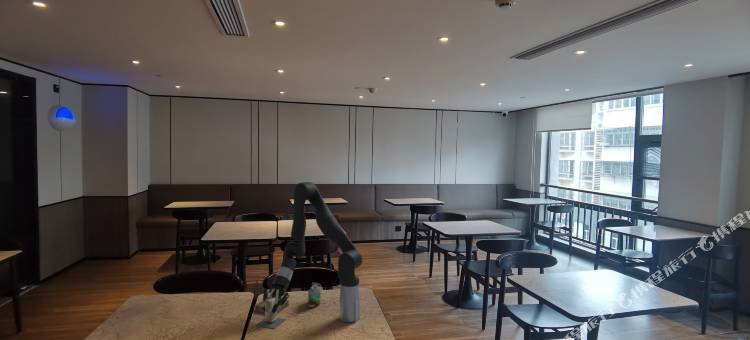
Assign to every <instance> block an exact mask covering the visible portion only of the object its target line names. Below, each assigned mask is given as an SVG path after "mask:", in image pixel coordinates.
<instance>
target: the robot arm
mask: <svg viewBox="0 0 750 340" xmlns="http://www.w3.org/2000/svg"><path fill="white" fill-rule="evenodd" d="M307 201H308V202H309V204H310V205H311V206H312V208H313V210H314V214H315V221H316V224H317V227H318V228H319V230H320V231H321V233H322V234H323V235H324V237H326V239H328V240H329V241H330V242H333V243H334V244H335V245H336V246H337V247H338V249H339V250H340V251H341V252H342V253H341V254H340V255H339V257H338V260H337V270H338V271H337V272H338V276H337V277H338V279H339V320H340V321H341V322H344V323H356V322H358V321H359V319H361V306H362V305H361V301H362V300H361V298H360V278H359V277H358V276H357V275H356V271H355V270H356V269H357V268H359V267H360V266H361V265H362V264H363V256H362V254H361V252H360V251H359V249H358V248H357V247H356V246H355V244H354V243H353V242H352V240H350V238H349V237H348V235H347V234H346V232H345V231H344V229H343V228H342V227H341V225H340V224H339V222H338V220H337V219H336V217H335V216H334V214H333V212H331V209H330V208H329V207H328V205H327V204H326V201H325V200H324V198H323V197H322V195H321V193H320V190H319V189H318V187H317V185H316V184H315V183H314V182H311V181H307V182H299V183H297V184H296V185H295V186H294V190H293V216H292V217H293V220H292V224H291V225H292V226H291V230H290V237H291V238H292V239H293V240H295V241H296V242H295V241H288V242H287V243H285V246H284V247H285V248H284V254H283V259H282V262H281V264H280V266H279V269H278V270H277V272H276V275H275V277H274V279H273V281H272V283H271V287H269V289H267V288H263V289H264V290H263V296H262V301H264V302H265V300H266V299H267V298H270V297H274V298H275V299H276V301H275V304H274V306H273V309H272V311H271V312H272V313H275V312H276V311H277V308H278V306H279V305H283V304H284V303H285V301H286V300H289V298H290V293H289V292H288V291H287V289H288V287H289V285H290V282H291V280H292V276H293V275H294V274H293V273H294V271H295V269H296V265H297V261H296V259H294V258H292V257H295V258H302V257H304V256H305V254H306V241H305V240H306V239H305V235H306V228H307V219H306V215H305V204H306V202H307ZM263 311H264V312H265V305H264V307H263Z"/></svg>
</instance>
